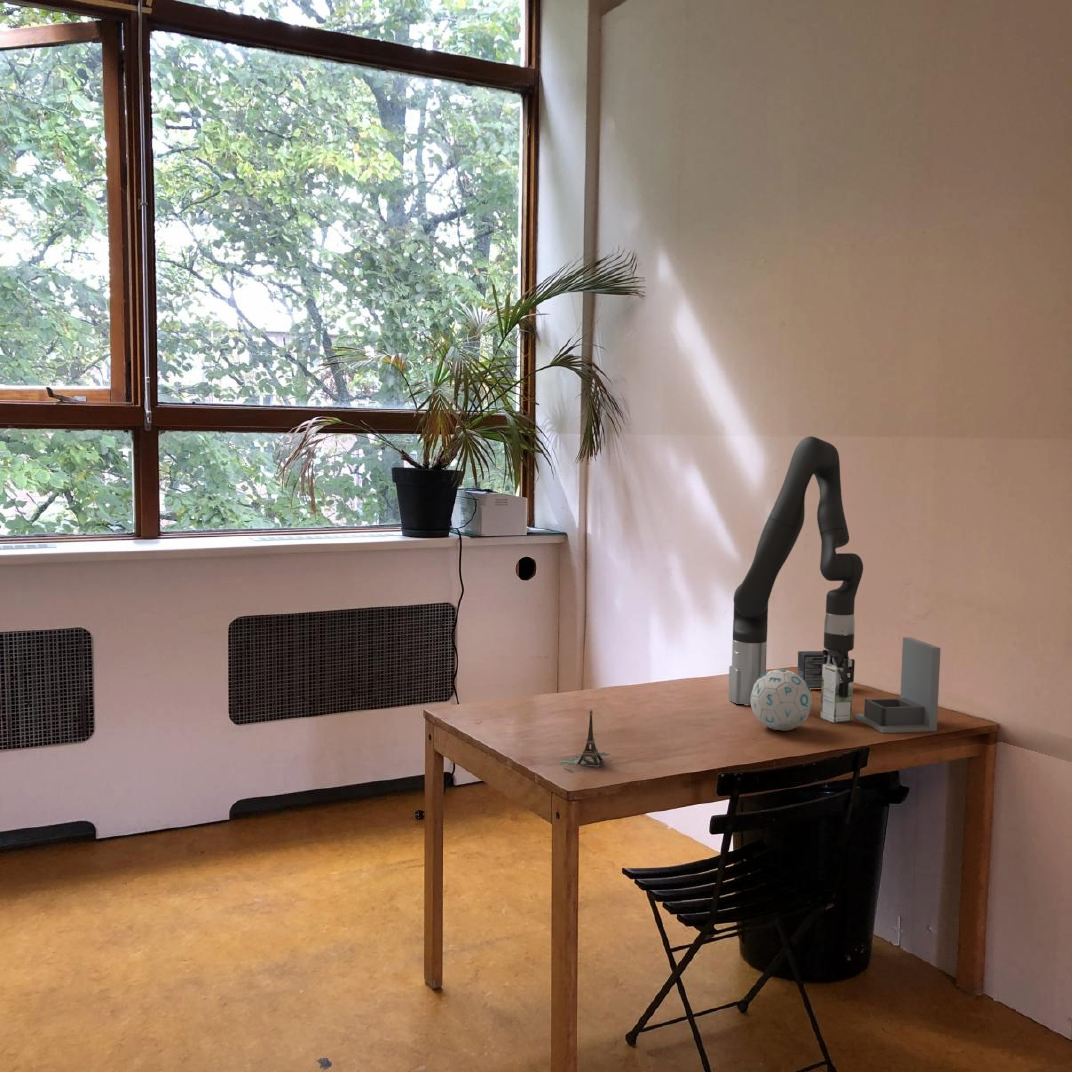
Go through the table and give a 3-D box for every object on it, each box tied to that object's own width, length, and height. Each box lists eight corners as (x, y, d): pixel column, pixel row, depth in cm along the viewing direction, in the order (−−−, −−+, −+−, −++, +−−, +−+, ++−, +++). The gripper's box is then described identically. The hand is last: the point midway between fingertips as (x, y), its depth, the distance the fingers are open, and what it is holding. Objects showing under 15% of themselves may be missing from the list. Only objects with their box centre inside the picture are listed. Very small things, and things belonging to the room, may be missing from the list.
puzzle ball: (755, 737, 265) (757, 676, 263) (744, 721, 280) (746, 663, 278) (818, 737, 265) (820, 677, 263) (803, 721, 280) (805, 664, 278)
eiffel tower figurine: (606, 754, 250) (607, 697, 249) (630, 766, 242) (631, 707, 240) (549, 762, 243) (550, 703, 242) (571, 775, 234) (572, 714, 233)
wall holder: (882, 732, 270) (886, 649, 268) (854, 717, 285) (858, 638, 283) (936, 731, 272) (940, 648, 270) (906, 715, 287) (910, 637, 285)
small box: (831, 685, 323) (832, 650, 322) (838, 690, 316) (840, 654, 316) (796, 685, 322) (797, 650, 321) (803, 690, 316) (804, 654, 315)
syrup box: (837, 716, 286) (839, 661, 285) (852, 721, 281) (854, 666, 279) (819, 718, 284) (821, 663, 282) (834, 723, 278) (836, 667, 277)
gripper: (813, 626, 287) (811, 688, 288) (837, 636, 272) (835, 701, 274) (840, 625, 288) (838, 687, 289) (865, 635, 274) (863, 700, 275)
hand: (836, 693), depth 282 cm, fingers open, 7 cm apart
